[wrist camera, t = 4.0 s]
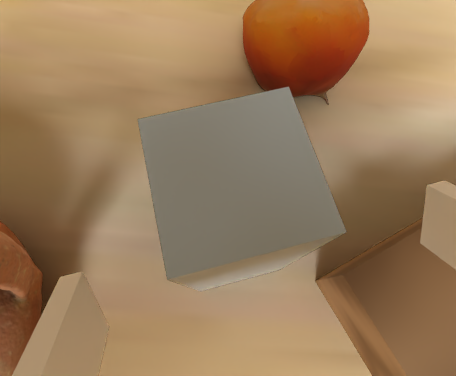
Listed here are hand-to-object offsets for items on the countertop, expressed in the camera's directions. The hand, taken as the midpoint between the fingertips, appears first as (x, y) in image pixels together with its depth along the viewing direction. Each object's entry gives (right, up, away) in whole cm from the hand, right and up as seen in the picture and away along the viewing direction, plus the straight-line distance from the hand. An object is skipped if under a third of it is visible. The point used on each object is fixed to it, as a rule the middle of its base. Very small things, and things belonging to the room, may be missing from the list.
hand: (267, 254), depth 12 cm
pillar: (-1, -1, +8) cm, 8 cm away
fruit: (+4, +12, +13) cm, 17 cm away
